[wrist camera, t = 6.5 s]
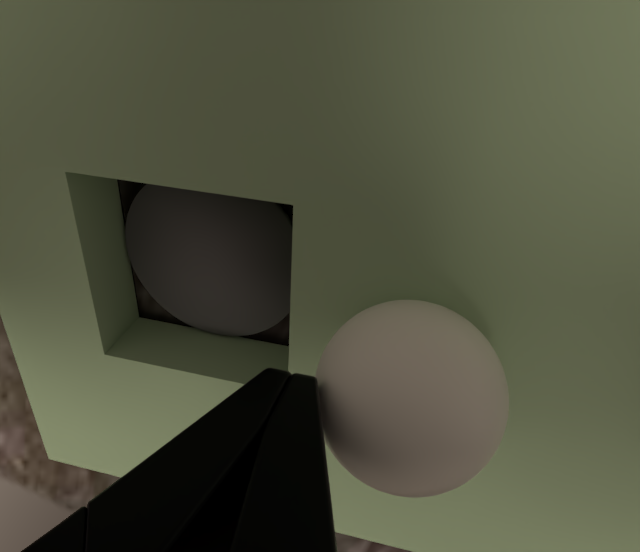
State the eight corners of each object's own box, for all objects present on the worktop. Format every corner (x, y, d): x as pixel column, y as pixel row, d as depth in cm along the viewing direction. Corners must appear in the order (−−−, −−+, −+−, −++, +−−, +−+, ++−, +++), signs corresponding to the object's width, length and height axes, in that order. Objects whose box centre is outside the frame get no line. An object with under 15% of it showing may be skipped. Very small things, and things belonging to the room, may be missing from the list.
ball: (359, 451, 6) (294, 276, 8) (340, 555, 8) (292, 393, 10) (586, 394, 7) (468, 249, 9) (513, 504, 9) (433, 363, 11)
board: (1183, -77, 6) (1387, -93, 5) (688, 563, 13) (712, 628, 12) (-64, -125, 9) (-154, -144, 8) (82, 419, 16) (49, 458, 15)
